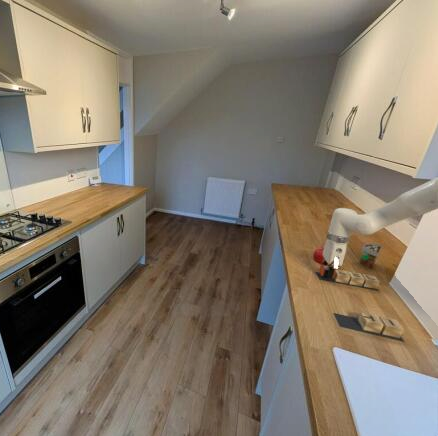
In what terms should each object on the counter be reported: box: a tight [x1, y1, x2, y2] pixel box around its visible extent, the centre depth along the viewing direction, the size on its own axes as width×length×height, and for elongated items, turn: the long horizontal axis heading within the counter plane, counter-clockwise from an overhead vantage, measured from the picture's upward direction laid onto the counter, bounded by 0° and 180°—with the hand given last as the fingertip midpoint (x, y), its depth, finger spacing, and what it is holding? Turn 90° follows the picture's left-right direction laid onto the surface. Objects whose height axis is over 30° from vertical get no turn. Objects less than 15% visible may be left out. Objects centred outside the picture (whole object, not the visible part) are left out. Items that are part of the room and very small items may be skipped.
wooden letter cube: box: [347, 271, 365, 286], centre depth 102 cm, size 4×4×4 cm
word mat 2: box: [332, 312, 406, 343], centre depth 80 cm, size 17×7×1 cm, turn 69°
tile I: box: [378, 315, 405, 338], centre depth 77 cm, size 4×4×4 cm
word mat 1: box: [315, 271, 380, 292], centre depth 104 cm, size 21×7×1 cm, turn 69°
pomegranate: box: [312, 245, 333, 265], centre depth 118 cm, size 10×10×9 cm
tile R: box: [333, 269, 350, 284], centre depth 104 cm, size 4×4×4 cm
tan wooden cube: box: [358, 311, 384, 333], centre depth 79 cm, size 4×4×4 cm
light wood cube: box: [361, 273, 380, 289], centre depth 101 cm, size 4×4×4 cm
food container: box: [359, 242, 383, 270], centre depth 117 cm, size 12×6×10 cm, turn 130°
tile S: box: [318, 264, 335, 277], centre depth 105 cm, size 4×4×4 cm
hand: (325, 274), depth 106 cm, fingers closed on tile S, 4 cm apart
